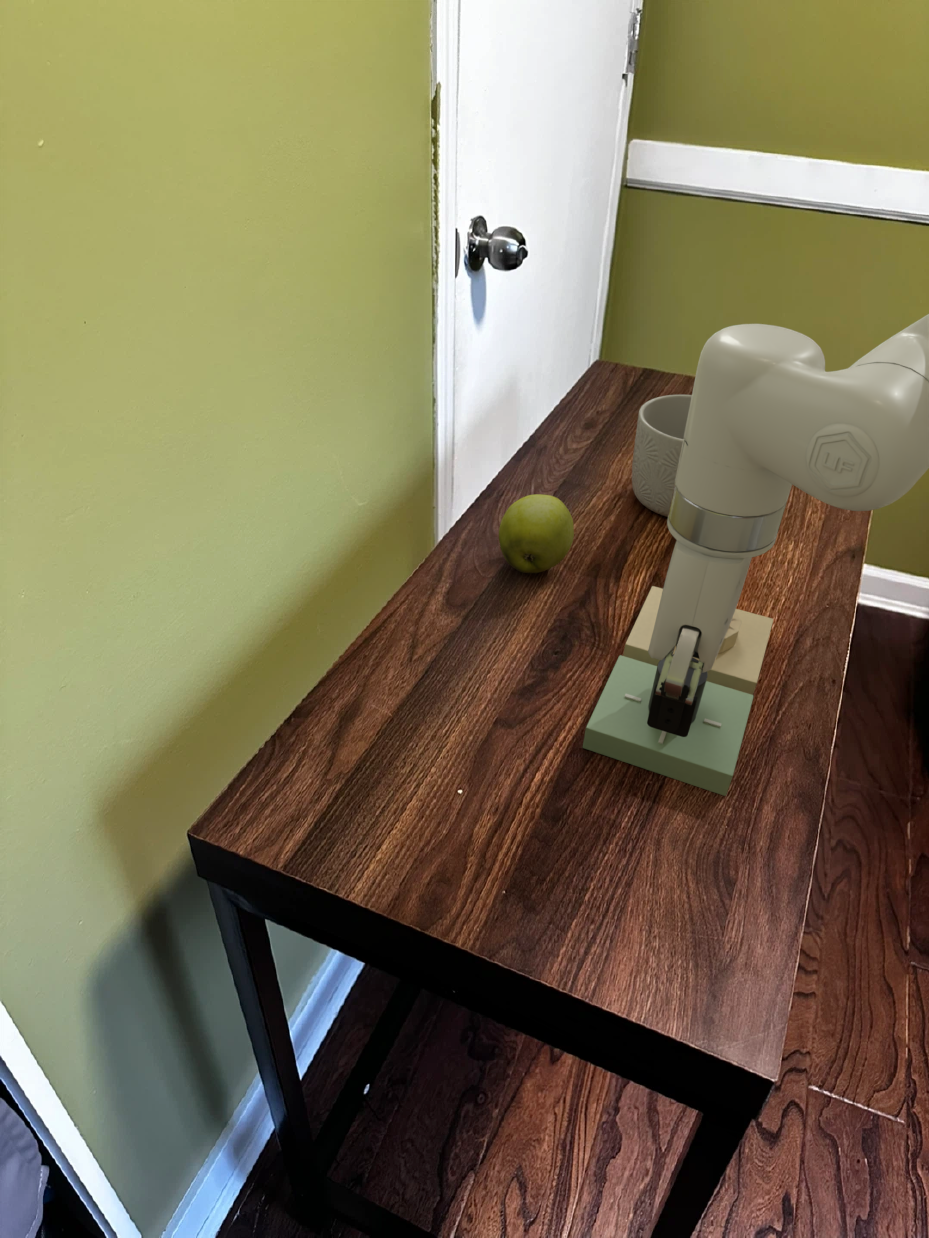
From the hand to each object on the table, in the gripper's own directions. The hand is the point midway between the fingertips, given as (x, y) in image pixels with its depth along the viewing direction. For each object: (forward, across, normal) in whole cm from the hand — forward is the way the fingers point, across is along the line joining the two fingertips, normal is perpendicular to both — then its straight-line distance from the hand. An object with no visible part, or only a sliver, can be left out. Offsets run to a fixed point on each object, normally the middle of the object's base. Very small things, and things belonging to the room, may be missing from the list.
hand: (681, 690), depth 70 cm
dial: (+3, 0, 0) cm, 3 cm away
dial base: (+5, 0, 0) cm, 5 cm away
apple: (+5, -18, -19) cm, 27 cm away
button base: (+5, -12, 0) cm, 13 cm away
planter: (+5, -38, -8) cm, 39 cm away
